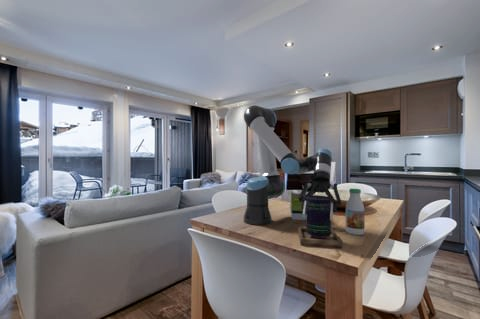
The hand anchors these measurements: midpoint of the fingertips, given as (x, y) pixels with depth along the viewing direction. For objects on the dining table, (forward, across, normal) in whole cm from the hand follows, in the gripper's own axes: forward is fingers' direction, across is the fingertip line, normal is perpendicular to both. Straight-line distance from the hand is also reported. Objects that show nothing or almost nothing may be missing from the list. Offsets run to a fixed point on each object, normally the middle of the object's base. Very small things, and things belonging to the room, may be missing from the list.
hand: (317, 216), depth 91 cm
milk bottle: (-7, -14, -22) cm, 27 cm away
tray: (+5, 0, -9) cm, 11 cm away
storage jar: (+3, 0, -8) cm, 8 cm away
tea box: (-19, +14, -34) cm, 42 cm away
